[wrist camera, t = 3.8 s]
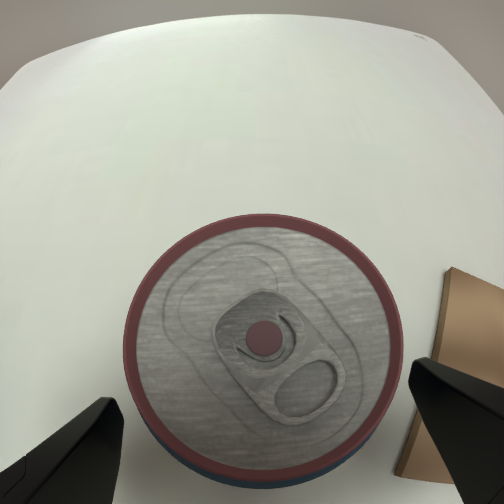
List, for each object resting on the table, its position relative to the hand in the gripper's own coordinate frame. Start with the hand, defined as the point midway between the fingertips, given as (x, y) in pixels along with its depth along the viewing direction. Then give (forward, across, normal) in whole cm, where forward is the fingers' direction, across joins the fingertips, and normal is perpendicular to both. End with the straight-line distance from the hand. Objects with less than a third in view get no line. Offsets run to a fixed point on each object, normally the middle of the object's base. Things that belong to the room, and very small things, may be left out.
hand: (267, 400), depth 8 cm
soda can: (+7, 0, +6) cm, 9 cm away
